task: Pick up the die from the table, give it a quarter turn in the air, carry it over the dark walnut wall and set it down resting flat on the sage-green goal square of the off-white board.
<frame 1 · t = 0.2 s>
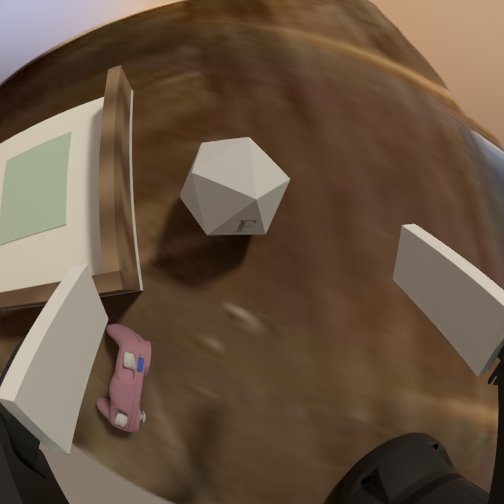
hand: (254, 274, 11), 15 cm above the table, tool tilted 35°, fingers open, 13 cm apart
die: (233, 201, 28), on the table
arena: (44, 201, 26), on the table
video game controller: (131, 372, 25), on the table
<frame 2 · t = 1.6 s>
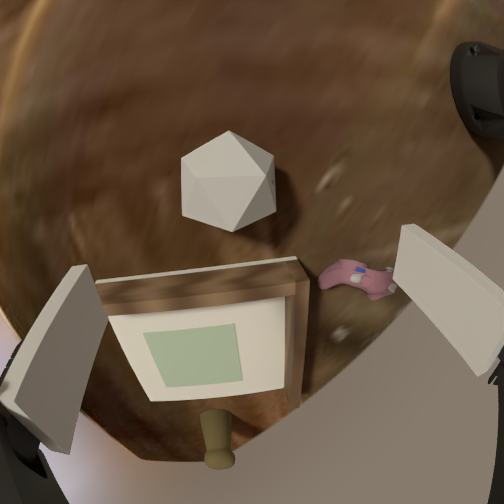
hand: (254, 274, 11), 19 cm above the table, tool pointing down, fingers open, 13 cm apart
die: (226, 175, 28), on the table
arena: (207, 344, 37), on the table
olive pawn figure: (215, 415, 46), on the table
video game controller: (352, 270, 35), on the table
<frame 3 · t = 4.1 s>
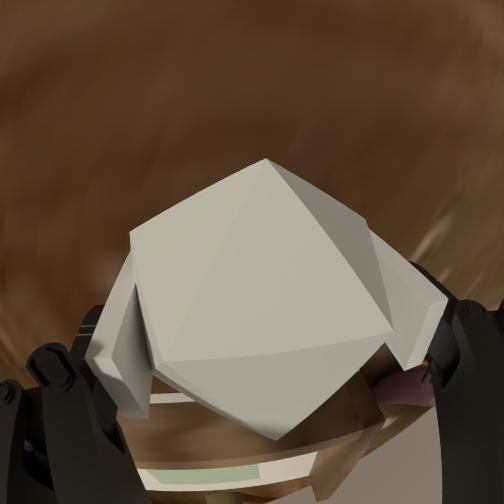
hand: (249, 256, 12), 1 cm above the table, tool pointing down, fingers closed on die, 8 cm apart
die: (243, 247, 13), on the table, touching gripper
arena: (213, 455, 22), on the table
olive pawn figure: (223, 495, 32), on the table
video game controller: (418, 364, 21), on the table
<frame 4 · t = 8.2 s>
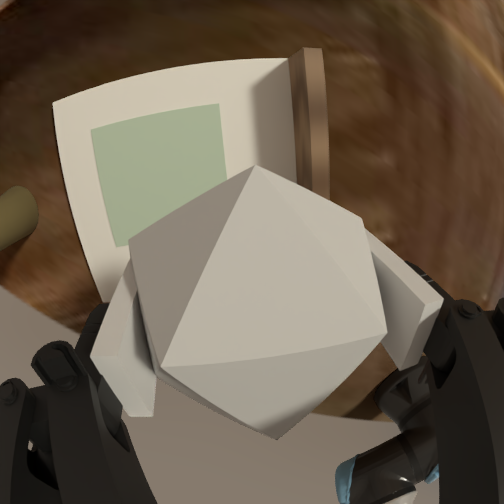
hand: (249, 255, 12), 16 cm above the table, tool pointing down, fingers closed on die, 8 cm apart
die: (242, 249, 13), point 15 cm above the table, touching gripper
arena: (185, 193, 26), on the table
olive pawn figure: (20, 210, 24), on the table
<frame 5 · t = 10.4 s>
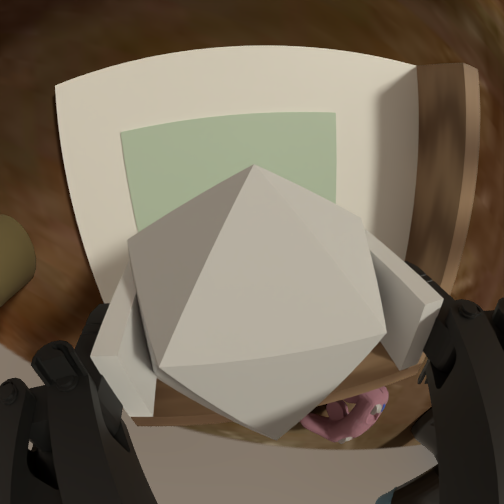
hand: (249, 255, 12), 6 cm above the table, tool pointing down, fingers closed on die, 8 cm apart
die: (241, 249, 13), point 5 cm above the table, touching gripper
arena: (271, 240, 18), on the table
olive pawn figure: (9, 250, 16), on the table
video game controller: (335, 390, 28), on the table
when the fingers open (2 cm above the table, at t = 12.1 s): die stays where it is, resting on arena.
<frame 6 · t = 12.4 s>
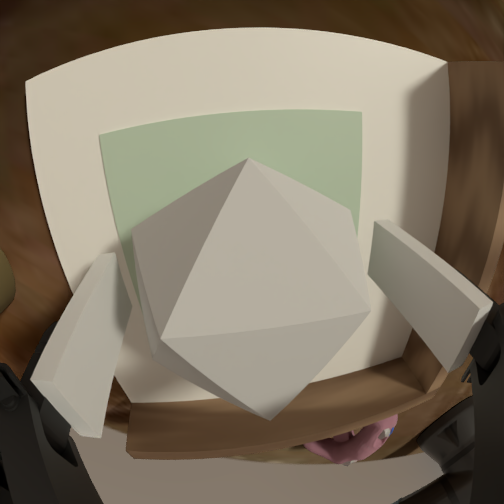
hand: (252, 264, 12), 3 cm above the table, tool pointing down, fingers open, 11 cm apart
die: (238, 241, 14), point 1 cm above the table, touching arena
arena: (282, 262, 16), on the table
video game controller: (340, 411, 25), on the table
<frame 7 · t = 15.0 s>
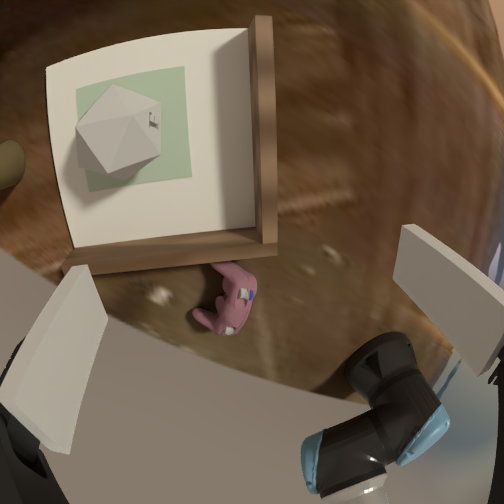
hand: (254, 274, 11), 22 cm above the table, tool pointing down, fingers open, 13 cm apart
die: (128, 130, 25), point 1 cm above the table, touching arena
arena: (152, 143, 27), on the table
olive pawn figure: (9, 163, 24), on the table
video game controller: (221, 286, 37), on the table
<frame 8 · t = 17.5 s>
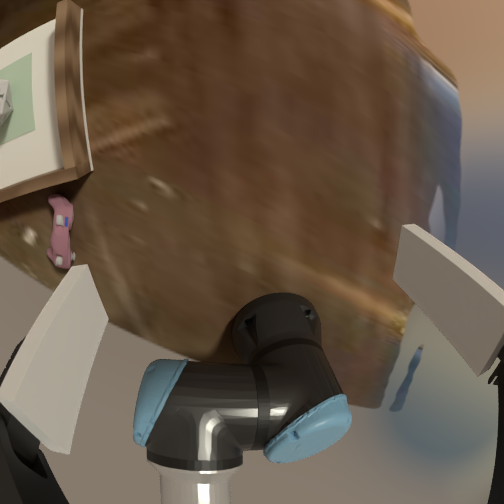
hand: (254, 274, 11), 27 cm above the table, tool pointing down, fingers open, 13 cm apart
die: (2, 105, 23), point 1 cm above the table, touching arena
arena: (16, 111, 25), on the table
video game controller: (67, 225, 35), on the table
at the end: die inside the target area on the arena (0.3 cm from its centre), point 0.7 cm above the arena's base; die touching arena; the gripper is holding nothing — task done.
